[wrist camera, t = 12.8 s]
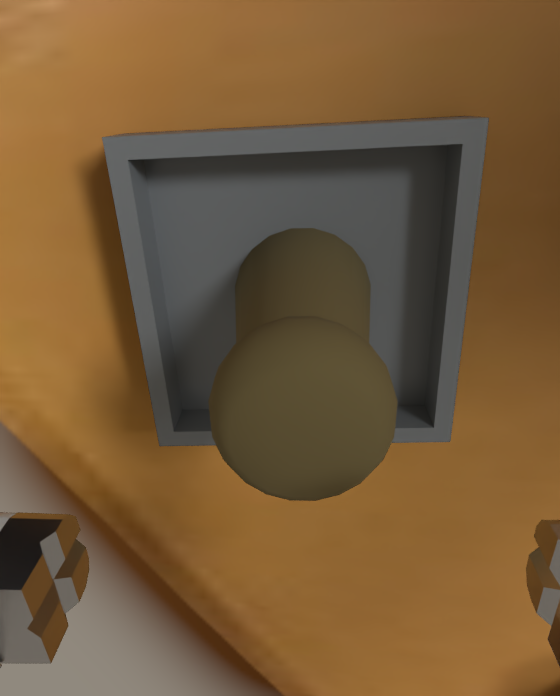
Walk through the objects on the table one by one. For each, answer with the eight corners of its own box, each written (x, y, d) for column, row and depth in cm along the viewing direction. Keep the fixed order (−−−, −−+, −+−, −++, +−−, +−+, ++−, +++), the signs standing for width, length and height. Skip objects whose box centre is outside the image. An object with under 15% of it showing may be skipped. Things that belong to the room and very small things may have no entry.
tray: (124, 133, 20) (102, 137, 18) (467, 116, 20) (488, 117, 17) (171, 416, 26) (159, 445, 24) (437, 411, 26) (450, 441, 23)
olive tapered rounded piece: (384, 238, 21) (455, 356, 11) (356, 364, 24) (394, 549, 14) (241, 218, 21) (187, 319, 11) (229, 346, 24) (176, 521, 14)
